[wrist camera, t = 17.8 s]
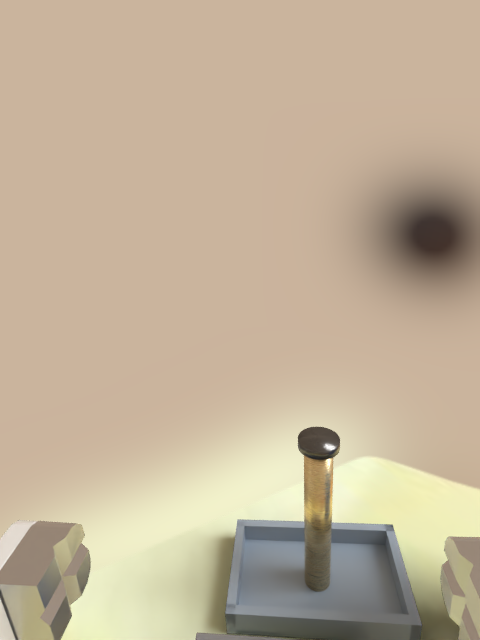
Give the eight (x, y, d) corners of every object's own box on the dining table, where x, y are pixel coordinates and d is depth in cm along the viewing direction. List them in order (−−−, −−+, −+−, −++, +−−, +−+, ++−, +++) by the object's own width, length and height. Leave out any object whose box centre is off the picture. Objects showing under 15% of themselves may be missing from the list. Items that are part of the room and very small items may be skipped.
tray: (227, 633, 36) (225, 613, 36) (238, 537, 46) (237, 519, 45) (419, 645, 35) (422, 625, 34) (390, 543, 44) (392, 524, 43)
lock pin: (299, 595, 38) (298, 451, 33) (298, 563, 42) (297, 426, 36) (337, 597, 38) (342, 451, 33) (333, 564, 41) (337, 427, 36)
